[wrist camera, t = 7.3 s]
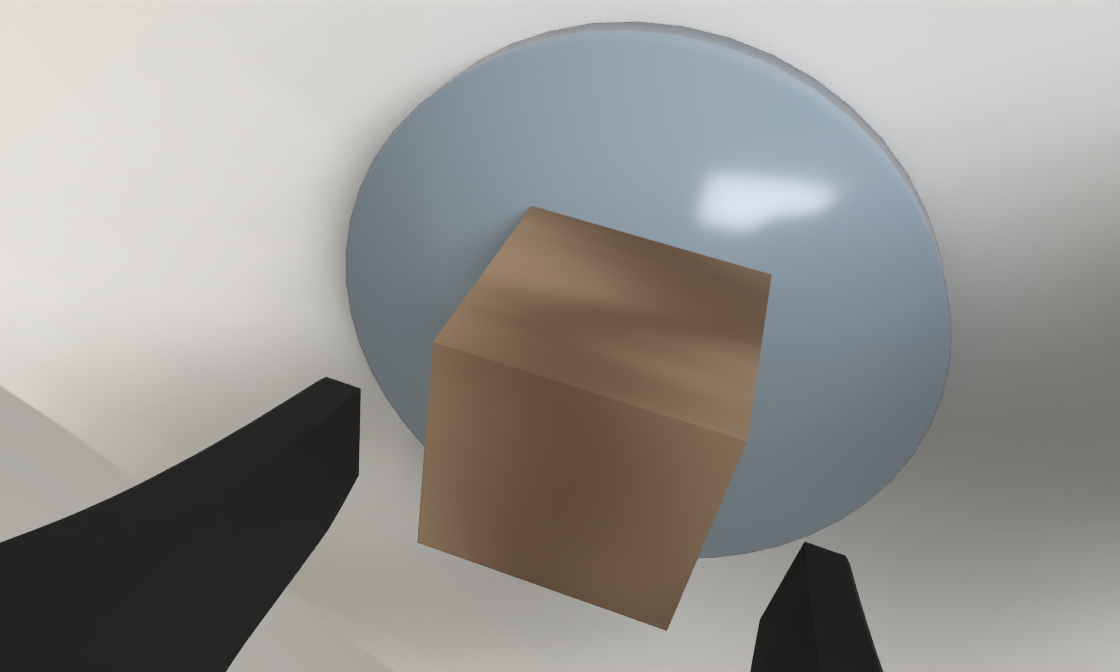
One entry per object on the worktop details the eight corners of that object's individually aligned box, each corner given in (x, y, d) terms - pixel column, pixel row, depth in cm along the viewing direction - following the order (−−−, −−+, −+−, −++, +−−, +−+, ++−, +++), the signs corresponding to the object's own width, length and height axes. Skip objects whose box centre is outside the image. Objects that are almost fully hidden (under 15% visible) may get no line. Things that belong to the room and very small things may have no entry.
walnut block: (771, 274, 14) (747, 441, 11) (704, 451, 17) (666, 630, 13) (531, 205, 15) (432, 341, 11) (504, 386, 17) (417, 542, 14)
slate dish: (1089, 152, 13) (1109, 182, 12) (792, 584, 20) (790, 624, 19) (397, -68, 14) (364, -57, 13) (357, 417, 21) (333, 447, 20)
